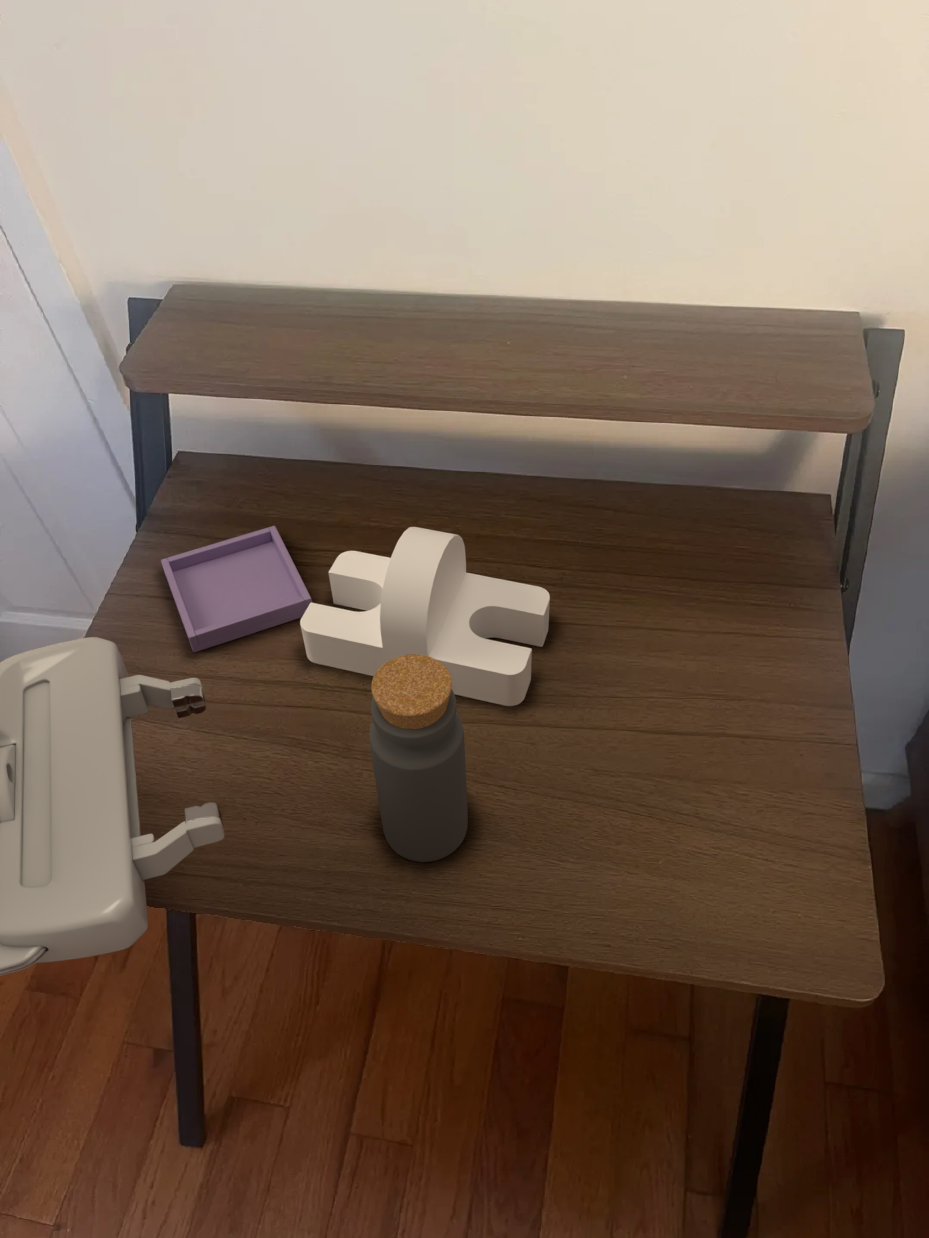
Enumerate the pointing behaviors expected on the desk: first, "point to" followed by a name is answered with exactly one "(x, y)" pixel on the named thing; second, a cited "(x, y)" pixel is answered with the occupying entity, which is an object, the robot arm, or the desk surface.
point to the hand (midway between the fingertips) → (212, 753)
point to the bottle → (418, 758)
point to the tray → (235, 588)
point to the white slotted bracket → (429, 617)
